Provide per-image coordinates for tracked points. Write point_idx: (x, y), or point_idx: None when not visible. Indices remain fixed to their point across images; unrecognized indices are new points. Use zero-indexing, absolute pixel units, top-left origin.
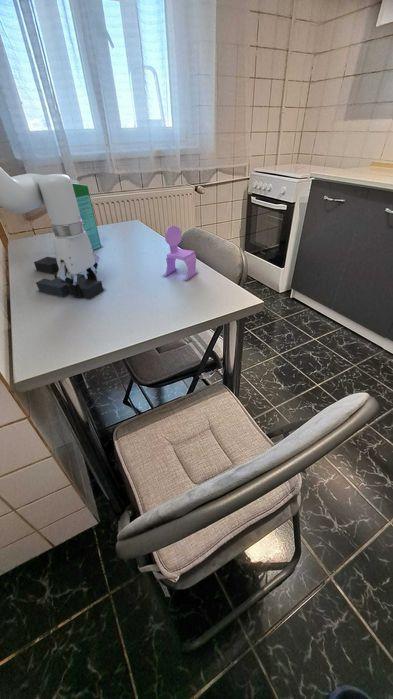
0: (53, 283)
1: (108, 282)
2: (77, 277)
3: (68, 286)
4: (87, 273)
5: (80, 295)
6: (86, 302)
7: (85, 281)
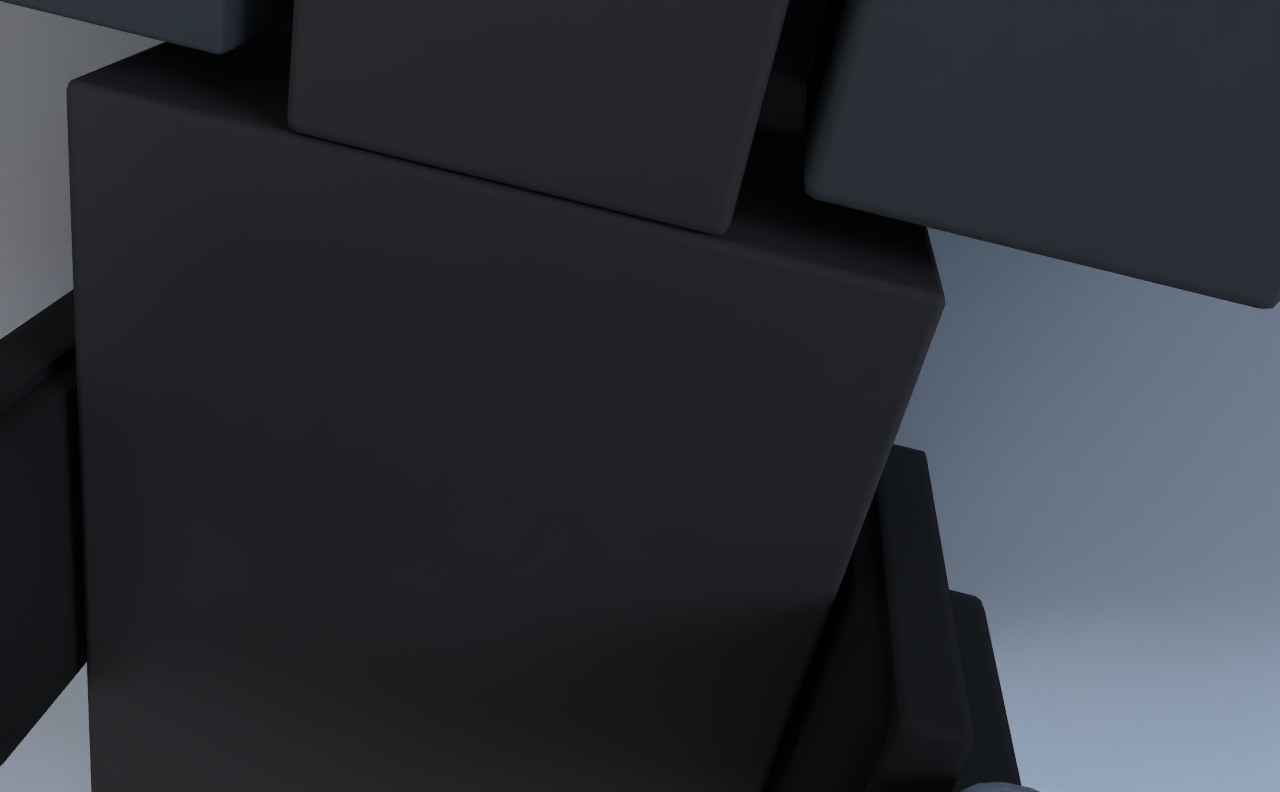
0: None
1: (1227, 750)
2: (917, 146)
3: (86, 166)
4: (928, 754)
5: None
6: None
7: (568, 639)
